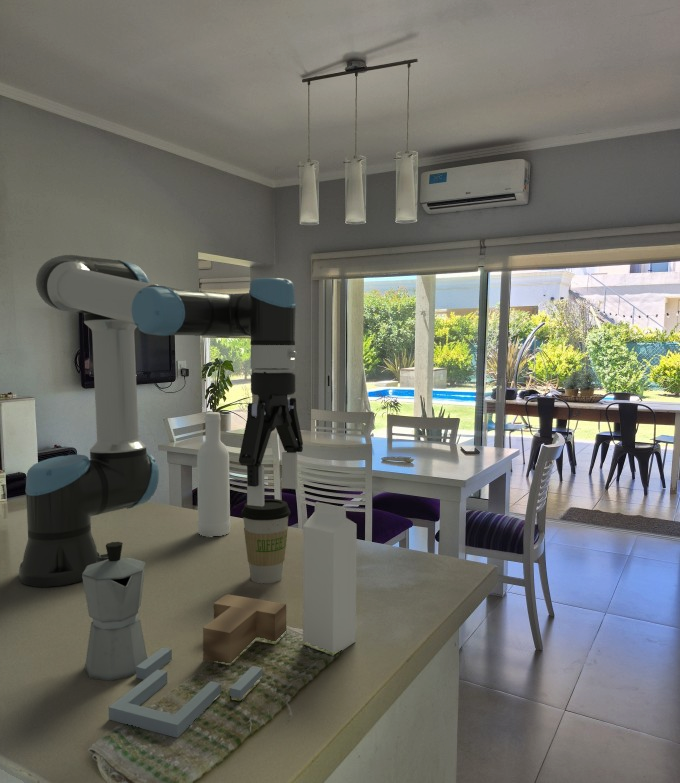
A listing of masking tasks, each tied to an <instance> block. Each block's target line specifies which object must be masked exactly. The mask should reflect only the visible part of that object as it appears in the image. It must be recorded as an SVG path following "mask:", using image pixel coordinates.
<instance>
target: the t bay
mask: <svg viewBox="0 0 680 783" xmlns="http://www.w3.org/2000/svg"><path fill="white" fill-rule="evenodd" d="M172 660H173V651H172V648H168V647H161V648H159V649H158V650H157V651H155V652H154V653H153V654H151V655H150V656H149V657H147V659H146V660H144V661H143V662H142V663H140V664H139V665H138V666H136V674H135V678H137V679H140V680H142V681H140V682H139V683H138V684H136V686H134V687H133V688H131V689H130V690H129V691H128V692H126V693H125V694H124V695H122V696H121V697H119V698H118V699H117V700H116V701H114V702H113V703H112V704H111V705H109V706H108V720H110V721H112V722H117V723H121V724H123V725H124V724H125V725H127V724H128V726H131V725H133V726H132V727H135V726H136V727H135V728H138V727H140V729H143V730H146V731H149V732H152V733H157V734H162V735H164V736H165V735H166V736H169V737H173V738H175V739H176V738H177V739H178V738H179V737H180V736H182V735H183V733H184V732H185V731H186V730H188V728H189V727H190V726H191V725H193V723H194V722H195V721H196V720H197V719H199V717H200V716H201V715H202V714H203V713H204V712H203V711H204V710H205V709H206V708H207V707H208V706H209V705H210V704H211V703H212V702H213V700H214V699H215V698H216V697H217V696H218V695H219V694H220V693H221V694H222V683H220V682H217V681H216V682H215V681H209V682H208V683H207V684H206V685H205V686H204V687H203V688H201V690H199V692H197V693H196V694H195V695H193V697H192V698H191V699H190V700H189V701H187V702H186V703H185V704H183V705H182V707H180V709H179V710H177V711H176V713H170V712H166V711H162V710H158V709H154V708H149V707H147V706H141V705H143V704H144V703H145V702H146V701H147V700H148V699H150V698H151V697H152V696H153V695H154V694H156V693H157V692H158V691H159V690H160V689H162V688H163V687H164V686H165V685H167V684H168V671H166V670H162V668H163V667H164V666H165V665H167V664H169V662H171V661H172ZM261 676H262V677H263V667H259V666H254V665H252V666H251V667H249V668H248V669H247V670H246V671H245V672H244V674H242V675H241V676H240V677H239V679H237V680H236V681H235V682H234V683H233V684H232V685H231V686H230V687H229V697H230V696H231V697H235V698H238V699H239V698H240V699H241V698H242V697H243V695H244V694H245V693H246V692H247V691H248V690H249V689H250V688H251V687H252V686H253V685H254V683H255V682H256V681H257V680H258V679H259V678H260V677H261ZM201 713H202V714H201ZM200 714H201V715H200ZM198 716H199V717H198ZM196 718H197V719H196ZM195 719H196V720H195ZM194 720H195V721H194ZM193 721H194V722H193ZM189 725H190V726H189Z"/></svg>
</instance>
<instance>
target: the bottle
mask: <svg viewBox="0 0 680 783" xmlns="http://www.w3.org/2000/svg"><path fill="white" fill-rule="evenodd" d="M221 420H222V417H221V413H220V412H218V411H217V412H215V411H212V412H208V411H207V412H206V413H205V414H204V422H205V424H204V425H205V426H204V427H205V430H204V431H205V441H204V442H203V443H202V444H201V445H200V446H199V448H198V451H197V455H196V460H197V461H196V462H197V463H196V464H197V468H196V470H197V471H196V472H197V476H196V477H197V533H198V535H199V534H200V535H199V536H201V535H202V536H201V537H203V536H221V537H223V536H222V535H224V536H227V535H229V533H230V532H231V510H230V508H231V504H230V500H231V498H230V492H231V491H230V489H231V488H230V452H229V450H228V448H227V446H226V444H225V443H223V442H222V441H221ZM226 534H227V535H226Z"/></svg>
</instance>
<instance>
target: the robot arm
mask: <svg viewBox="0 0 680 783" xmlns="http://www.w3.org/2000/svg"><path fill="white" fill-rule="evenodd" d="M249 284H250V286H249V290H248V292H247V293H246V292H245V293H225V292H223V293H222V292H213V291H201V290H189V289H185V288H184V289H182V288H175V287H170V286H165V285H159V284H155V283H150V280H149V278H148V276H147V274H146V273H145V271H144V270H143V268H141V267H140V266H138V265H137V264H135V263H132V262H127V261H123V260H121V259H120V260H119V259H109V258H101V257H100V258H99V257H90V256H82V255H74V254H63V255H58V256H54V257H51V258H50V259H48V260H47V261H45V262H44V263H43V264H42V265H41V266H40V268H39V269H38V271H37V274H36V277H35V286H36V290H37V293H38V296H40V298H41V299H42V301H43V302H44V303H45V304H47V305H48V306H49V307H51V308H54V309H55V310H59V311H63V312H68V313H78V314H83V323H84V324H85V325H86V326H87V327H88V328H89V329H90V330H91V334H92V335H91V336H92V359H93V360H92V361H93V378H94V379H93V380H94V381H93V382H94V401H95V402H94V403H95V406H94V407H95V421H96V422H95V425H96V426H95V427H96V443H94V445H93V446H92V447H91V448H90V449H89V457H88V456H87V455H84V454H68V455H60V456H55V457H50V458H47V459H44V460H41V461H38V462H37V463H34V464H32V465H31V466H30V467H29V469H27V470H28V471H27V473H26V480H25V489H24V490H25V494H26V495H25V496H26V518H27V519H26V520H27V542H26V545H25V546H26V547H25V549H24V554H23V558H22V562H21V563H20V565H19V569H18V572H19V574H18V575H19V576H18V577H19V582H21V584H24V585H26V586H31V587H39V588H41V587H42V588H45V587H46V588H49V587H60V586H66V585H71V584H75V583H79V582H83V578H82V573H83V572H84V570H85V569H86V567H87V566H88V565H91V564H94V563H96V561H97V557H98V556H100V555H101V554H100V553H99V552H98V549H97V546H96V542H95V539H94V538H93V535H92V526H91V525H92V522H91V519H92V518H91V517H93V516H98V515H102V514H105V513H110V512H114V511H120V510H123V509H128V510H129V509H132V508H134V507H136V506H140V505H143V504H145V503H147V502H148V501H149V500H151V499H152V497H153V496H154V495H155V493H156V491H157V488H158V485H159V479H160V478H159V476H160V472H159V470H160V469H159V465H158V463H156V458H155V457H154V456H153V454H151V453H149V452H148V451H147V445H146V444H145V443H144V442H143V441H141V439H140V438H139V435H140V434H139V417H138V416H139V415H138V414H139V412H138V393H137V391H138V390H137V388H138V387H137V369H136V367H137V365H136V345H135V343H136V342H135V340H136V339H135V330H136V329H137V328H138V330H139V331H140V332H142V333H143V334H146V335H154V336H158V337H159V336H160V337H167V336H196V337H197V336H199V337H216V338H230V337H231V338H232V337H250V369H251V370H253V372H251V374H250V393H251V394H252V395H254V396H256V395H257V397H258V400H257V402H256V403H255V402H249V403H248V404H247V414H246V422H245V426H244V432H243V436H242V437H243V438H242V442H241V446H240V452H239V456H238V463H239V464H240V465H241V466H244V467H245V466H246V486H247V487H246V489H247V490H246V493H247V495H246V499H247V501H246V503H247V505H253V506H264V499H265V465H262V463H263V459H264V456H265V453H266V449H267V447H268V444H269V441H270V440H269V439H270V437H271V434H272V432H273V431H275V430H276V432H277V435H278V437H279V439H280V442H281V445H282V447H283V449H284V451H282V452H281V488H282V489H287V490H289V489H291V490H297V489H298V453H303V448H304V447H303V446H304V442H303V441H304V440H303V436H302V432H301V431H302V430H301V426H300V421H299V417H298V410H297V398H296V397H288V396H291V395H294V394H295V393H296V374H295V372H292V370H294V369H295V368H296V358H297V356H298V352H297V351H296V335H295V334H296V309H297V304H296V294H295V291H296V290H295V285H294V283H293V281H292V280H290V279H287V278H280V277H257V278H255V279H254V278H253V280H251V281H250V283H249Z"/></svg>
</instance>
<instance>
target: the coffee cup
mask: <svg viewBox="0 0 680 783" xmlns="http://www.w3.org/2000/svg"><path fill="white" fill-rule="evenodd" d="M240 512H241V513H240V516H241V517H242V519H243V525H244V527H243V531H244V540H245V548H246V556H247V562H248V566H249V568H248V569H249V574H250V576H249V577H250V580H251V581H252V582H254V583H256V582H257V584H263V583H264V585H265V584H273V583H277V582H279V581H281V579H282V577H283V571H284V561H285V558H286V557H285V556H286V550H287V549H286V548H287V539H288V530H289V526H288V524H289V516H290V515H291V509H290V508H289V505H288V502H287V501H285V500H282V499H277V498H264V506H253V505H247V502H244V505H243V509H242V510H241V511H240Z"/></svg>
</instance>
